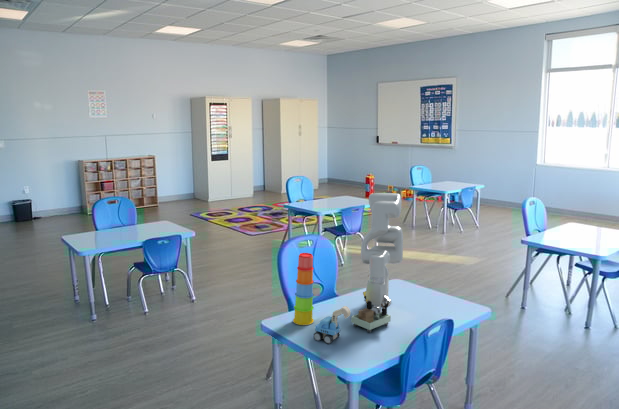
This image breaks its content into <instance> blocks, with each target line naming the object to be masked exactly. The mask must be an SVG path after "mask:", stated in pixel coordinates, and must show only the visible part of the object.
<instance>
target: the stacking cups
mask: <svg viewBox="0 0 619 409" xmlns="http://www.w3.org/2000/svg"><path fill="white" fill-rule="evenodd" d="M313 262H314V256H313V254H312V253H310V252H300V254H299V255H298V262H297V263H298V264H297V267H296V270H297V275H296V276H297V279H296V280H295V282H296V292H295V293H294V295H295V302H294V304H295V305H294V306H293V309H294V317H293V319H292V322H293V323H294V324H296V325H299V326H310V325H312V324H313V323H314V322H315V320H314V318H313V310H314V309H315V308H314V306H313V300H314V299H313V298H314V295H315V294H314V290H313V289H314V288H313V286H314V280H313V279H314V278H313V276H314V267H313V265H314V263H313Z"/></svg>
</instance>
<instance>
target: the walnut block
mask: <svg viewBox="0 0 619 409" xmlns="http://www.w3.org/2000/svg"><path fill="white" fill-rule="evenodd" d="M358 314H359V319H361V320H363V321H366V322H368V323H371V322H373V316H374V311H372V310H370V309H367V307H365V308H362V309H360V310H358Z"/></svg>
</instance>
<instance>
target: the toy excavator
mask: <svg viewBox="0 0 619 409" xmlns="http://www.w3.org/2000/svg"><path fill="white" fill-rule="evenodd" d="M341 315H343V317H344V319H347V318H349V317H350V316H351V309H350V307H348V306H346V305H344V306H342V307H340V309H337V310H334V311H333V312H332V314H331V316H326V317H324V318H323V319H322V320H320V321H319V322H318V323H317V324H316V325H315V326H314V330H315V332H314V333H313V339H314V340H315V341H321V340H323V342H324V343H326V344H327V345H330V344H332V343H333V342H334V340H336V339H337V338H339V337H340V336H341V334H340V333H341V330H342V329H341V326H340V322H339V321H338V316H341Z"/></svg>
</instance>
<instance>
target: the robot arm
mask: <svg viewBox="0 0 619 409" xmlns="http://www.w3.org/2000/svg"><path fill="white" fill-rule="evenodd" d="M402 199H403V198H402V196H401V194H400V193H398V192H397V193H395V192H393V193H392V192H374V193H371V194H369V196H368V204H369V205H368V206H369V208H370V211H371V221H370V222H371V224H370V225H371V226H370V230H369V231H368V232H367V233H366V235H364V237H363V239H362V241H361V246H360V261H361V262H362V264H364V265H369V267H368V269H369V270H368V271H369V274H368V275H367V277H368V280H367V284H366V290H365V291H363V292H362V294H363V299H364V300H365V303H366V308H367V309H370V310H371V309H372V306H374V305H379V306H381V312H382V314H381V315H382V316H385V315H387V314H388V308H389V306H391V304H392V299H391V298H390V297H389V291H390V290H389V287H390V286H389V284H390V283H389V282H390V281H389V279H390V276H389V275H390V274H389V273H390V271H389V269H388V267H387V265H400V264H402V262H403V256H404V255H403V254H404V233H403V228H402V227H401V226H397V225H394V226H393V225H390V218H391V219H392V218H394V219H398V218H399V217H400V216H401V214H402V204H403V203H402ZM372 240H373V241H374V242H375V243H376V244H391V245H374V246H372V247H371V248H369V249H368V248H367V247H368V244H369V243H370V241H372ZM393 245H394V246H393Z"/></svg>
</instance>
